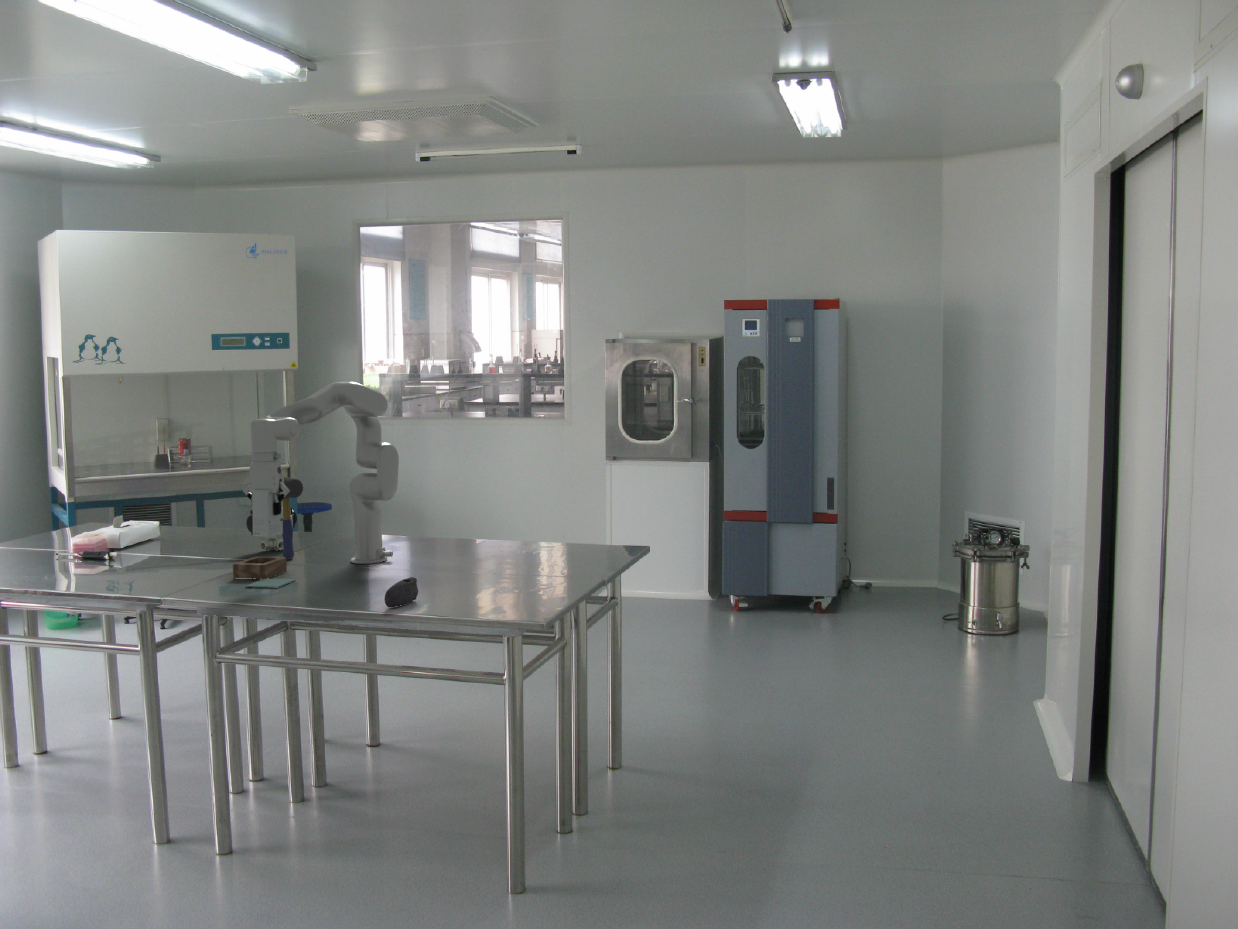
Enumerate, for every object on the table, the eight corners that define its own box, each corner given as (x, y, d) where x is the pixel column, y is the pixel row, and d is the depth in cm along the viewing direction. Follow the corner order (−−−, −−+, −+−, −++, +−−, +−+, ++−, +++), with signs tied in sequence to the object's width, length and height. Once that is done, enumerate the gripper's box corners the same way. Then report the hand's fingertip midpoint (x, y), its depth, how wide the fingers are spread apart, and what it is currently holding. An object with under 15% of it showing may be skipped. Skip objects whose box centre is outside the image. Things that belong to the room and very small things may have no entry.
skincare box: (268, 538, 310) (267, 490, 309) (251, 536, 312) (251, 489, 311) (283, 534, 319) (283, 487, 317) (267, 532, 320) (267, 486, 319)
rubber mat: (295, 581, 321) (295, 579, 321) (278, 588, 310) (277, 586, 310) (264, 580, 323) (263, 578, 323) (245, 587, 312) (245, 585, 312)
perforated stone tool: (393, 611, 278) (392, 587, 277) (377, 610, 280) (376, 586, 279) (423, 600, 292) (422, 577, 291) (408, 599, 294) (407, 575, 293)
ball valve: (261, 555, 369) (259, 507, 367) (247, 553, 374) (244, 506, 372) (301, 547, 384) (299, 502, 382) (286, 545, 389) (284, 500, 387)
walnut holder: (286, 571, 337) (286, 557, 336) (265, 580, 324) (265, 564, 323) (255, 571, 339) (254, 556, 338) (233, 579, 326) (232, 564, 325)
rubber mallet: (308, 559, 359) (304, 476, 356) (290, 562, 353) (286, 478, 350) (286, 556, 366) (283, 475, 363) (269, 559, 360) (265, 477, 357)
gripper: (296, 457, 315) (298, 513, 317) (246, 457, 318) (248, 512, 320) (284, 459, 308) (286, 516, 309) (233, 459, 311) (235, 516, 312)
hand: (267, 514), depth 314 cm, fingers closed on skincare box, 6 cm apart
